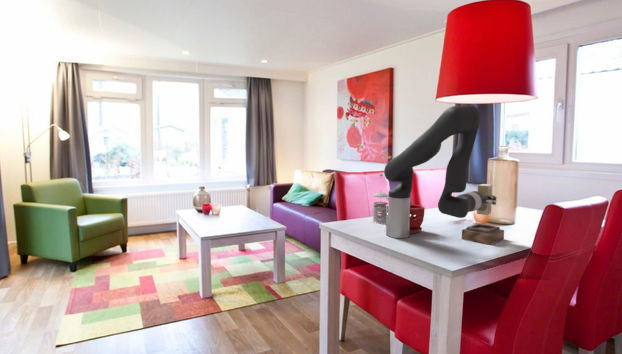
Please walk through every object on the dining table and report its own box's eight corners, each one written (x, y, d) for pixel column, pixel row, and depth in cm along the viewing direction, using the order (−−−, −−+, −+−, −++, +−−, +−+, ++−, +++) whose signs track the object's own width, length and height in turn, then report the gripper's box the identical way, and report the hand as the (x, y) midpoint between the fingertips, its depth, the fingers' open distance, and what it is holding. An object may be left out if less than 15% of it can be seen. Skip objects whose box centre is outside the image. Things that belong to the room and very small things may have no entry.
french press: (367, 220, 198) (367, 173, 196) (385, 218, 203) (386, 172, 200) (378, 224, 189) (378, 174, 187) (396, 222, 194) (397, 173, 191)
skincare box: (480, 211, 162) (481, 183, 161) (491, 213, 159) (492, 184, 158) (476, 214, 157) (477, 184, 156) (487, 215, 154) (488, 185, 153)
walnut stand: (461, 239, 160) (462, 227, 159) (475, 234, 168) (476, 222, 168) (490, 244, 151) (490, 232, 150) (503, 239, 159) (504, 227, 159)
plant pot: (425, 235, 166) (425, 208, 165) (394, 234, 169) (395, 207, 168) (422, 228, 179) (423, 203, 178) (394, 227, 182) (394, 203, 181)
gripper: (490, 193, 142) (505, 190, 155) (453, 190, 152) (470, 187, 164) (489, 213, 143) (504, 208, 155) (452, 208, 153) (469, 204, 165)
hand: (486, 197), depth 160 cm, fingers closed on skincare box, 4 cm apart
